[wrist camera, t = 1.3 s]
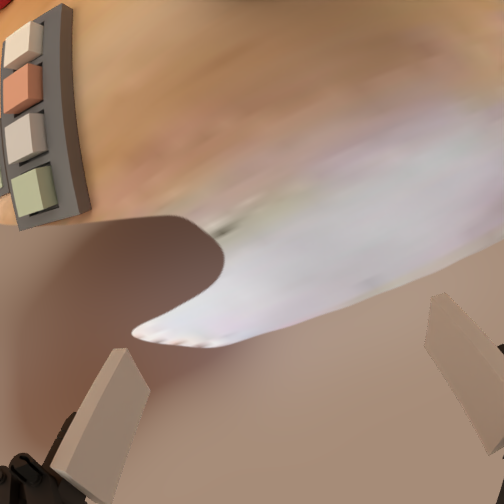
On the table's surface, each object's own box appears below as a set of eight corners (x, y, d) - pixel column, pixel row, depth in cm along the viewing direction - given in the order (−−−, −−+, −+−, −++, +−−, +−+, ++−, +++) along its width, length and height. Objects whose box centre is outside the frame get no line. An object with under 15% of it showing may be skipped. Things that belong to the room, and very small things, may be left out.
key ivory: (19, 42, 22) (6, 38, 19) (44, 26, 22) (30, 20, 19) (18, 70, 24) (3, 67, 21) (42, 54, 24) (28, 50, 21)
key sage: (26, 175, 29) (11, 179, 26) (50, 165, 29) (35, 168, 26) (33, 211, 31) (18, 217, 28) (58, 203, 31) (43, 209, 28)
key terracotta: (17, 82, 25) (3, 80, 22) (42, 66, 24) (27, 63, 21) (18, 113, 26) (3, 113, 23) (43, 99, 26) (28, 98, 23)
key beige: (19, 127, 27) (4, 127, 24) (44, 113, 27) (28, 113, 24) (23, 161, 29) (8, 164, 26) (48, 150, 28) (32, 152, 25)
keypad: (14, 45, 24) (3, 42, 21) (72, 9, 23) (62, 3, 21) (31, 225, 34) (19, 231, 31) (91, 209, 33) (79, 214, 31)
